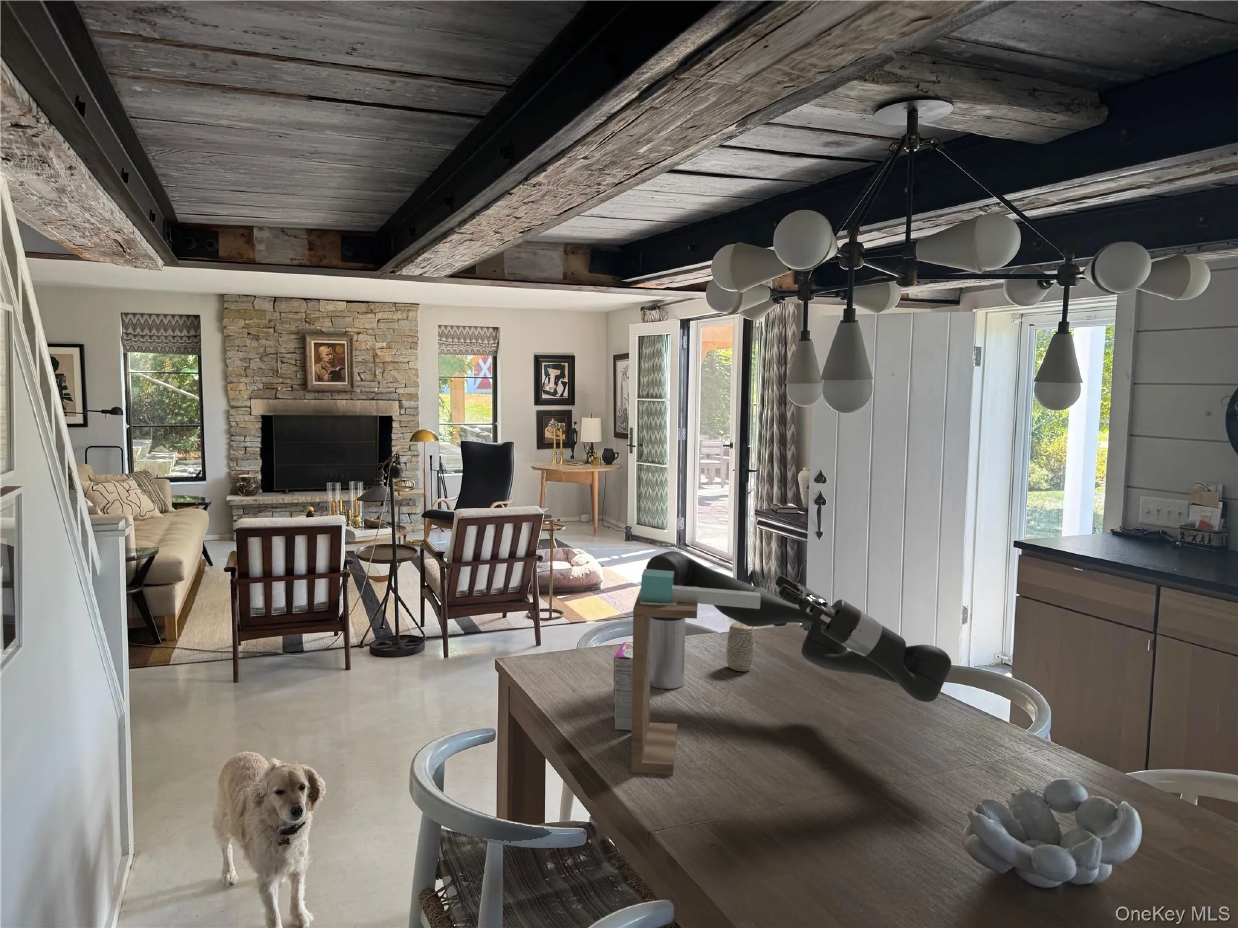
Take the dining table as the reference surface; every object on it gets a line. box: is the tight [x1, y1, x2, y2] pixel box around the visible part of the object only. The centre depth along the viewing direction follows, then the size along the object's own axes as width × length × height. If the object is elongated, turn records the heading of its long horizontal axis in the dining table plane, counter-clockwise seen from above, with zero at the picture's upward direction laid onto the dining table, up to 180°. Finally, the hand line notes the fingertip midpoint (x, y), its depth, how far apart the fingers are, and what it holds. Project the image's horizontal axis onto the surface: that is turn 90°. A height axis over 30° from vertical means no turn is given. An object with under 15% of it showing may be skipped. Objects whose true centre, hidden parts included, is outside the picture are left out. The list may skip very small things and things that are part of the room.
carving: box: [725, 621, 756, 673], centre depth 220 cm, size 6×8×12 cm
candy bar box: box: [613, 641, 633, 732], centre depth 183 cm, size 11×5×16 cm, turn 168°
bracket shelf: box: [630, 588, 699, 776], centre depth 167 cm, size 20×12×32 cm, turn 174°
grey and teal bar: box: [640, 568, 761, 609], centre depth 162 cm, size 6×23×5 cm, turn 84°
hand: (778, 583), depth 161 cm, fingers open, 8 cm apart
